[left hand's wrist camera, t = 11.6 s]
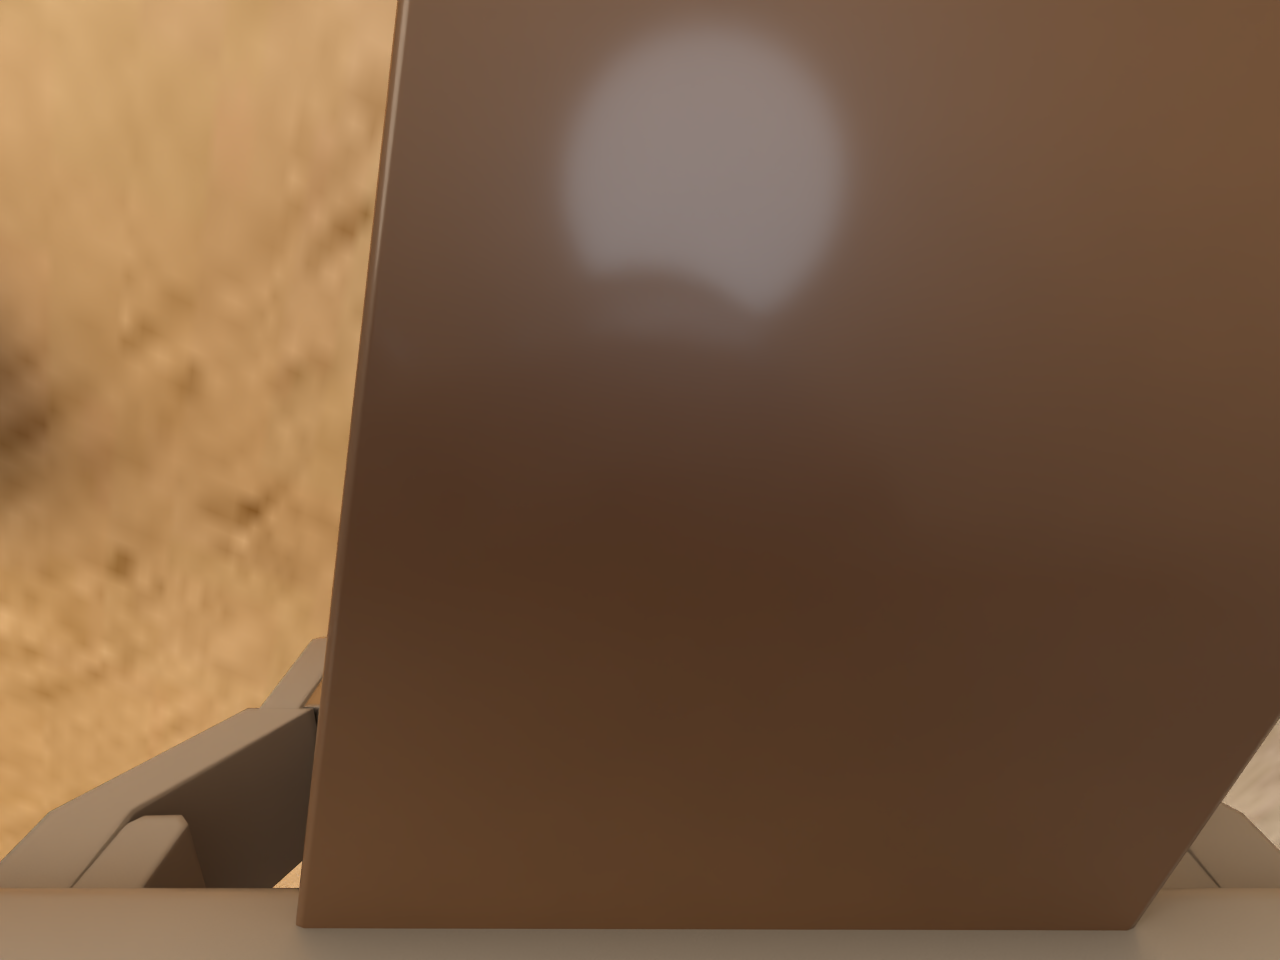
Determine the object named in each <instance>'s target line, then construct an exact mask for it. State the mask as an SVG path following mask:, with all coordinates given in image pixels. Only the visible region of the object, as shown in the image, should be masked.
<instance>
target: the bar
mask: <svg viewBox="0 0 1280 960" xmlns="http://www.w3.org/2000/svg"><path fill="white" fill-rule="evenodd" d="M1279 718H1280V0H397V9H396V18H395V27H394V36H393V45H392V54H391V63H390V72H389V82H388V91H387V100H386V109H385V118H384V127H383V136H382V145H381V154H380V163H379V172H378V181H377V190H376V199H375V208H374V217H373V226H372V235H371V244H370V254H369V263H368V272H367V281H366V290H365V299H364V308H363V317H362V326H361V335H360V344H359V353H358V362H357V371H356V380H355V389H354V398H353V407H352V417H351V426H350V435H349V444H348V453H347V462H346V471H345V480H344V489H343V498H342V507H341V516H340V525H339V534H338V543H337V552H336V561H335V570H334V579H333V588H332V598H331V607H330V616H329V625H328V634H327V643H326V652H325V661H324V670H323V679H322V688H321V697H320V706H319V715H318V724H317V733H316V742H315V751H314V761H313V770H312V779H311V788H310V797H309V806H308V815H307V824H306V833H305V842H304V851H303V860H302V869H301V878H300V887H299V896H298V905H297V914H296V925H297V926H299V927H302V928H383V929H749V930H1115V931H1127V930H1130V929H1132V928H1134V927H1135V925H1136V924H1137V923H1138V921H1139V920H1140V918H1141V917H1142V915H1143V914H1144V912H1145V911H1146V910H1147V908H1148V907H1149V905H1150V904H1151V902H1152V901H1153V900H1154V898H1155V897H1156V895H1157V894H1158V892H1159V891H1160V889H1161V888H1162V887H1163V885H1164V884H1165V882H1166V881H1167V879H1168V878H1169V877H1170V875H1171V874H1172V872H1173V871H1174V869H1175V868H1176V866H1177V865H1178V864H1179V862H1180V861H1181V859H1182V858H1183V856H1184V855H1185V853H1186V852H1187V851H1188V849H1189V848H1190V846H1191V845H1192V843H1193V842H1194V841H1195V839H1196V838H1197V836H1198V835H1199V833H1200V832H1201V830H1202V829H1203V828H1204V826H1205V825H1206V823H1207V822H1208V820H1209V819H1210V818H1211V816H1212V815H1213V813H1214V812H1215V810H1216V809H1217V807H1218V806H1219V805H1220V803H1221V802H1222V800H1223V799H1224V797H1225V796H1226V795H1227V793H1228V792H1229V790H1230V789H1231V787H1232V786H1233V784H1234V783H1235V782H1236V780H1237V779H1238V777H1239V776H1240V774H1241V773H1242V772H1243V770H1244V769H1245V767H1246V766H1247V764H1248V763H1249V761H1250V760H1251V759H1252V757H1253V756H1254V754H1255V753H1256V751H1257V750H1258V748H1259V747H1260V746H1261V744H1262V743H1263V741H1264V740H1265V738H1266V737H1267V736H1268V734H1269V733H1270V731H1271V730H1272V728H1273V727H1274V725H1275V724H1276V723H1277V721H1278V720H1279Z"/></svg>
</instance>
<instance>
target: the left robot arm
mask: <svg viewBox="0 0 1280 960" xmlns="http://www.w3.org/2000/svg"><path fill="white" fill-rule="evenodd" d="M326 643H327V637H319V638H316V639H312V640H311V642H310V643H309V644H308V645H307V647H306V648H305V649H304V651H303V652H302V653H301V654H300V656H299V657H298V658H297V660H296V661H295V662H294V664H293V665H292V666H291V668H290V669H289V670H288V671H287V673H286V674H285V675H284V677H283V678H282V679H281V681H280V682H279V683H278V685H277V686H276V687H275V688H274V690H273V691H272V692H271V694H270V695H269V696H268V698H267V699H266V700H265V702H264V703H263V704H262V705H261V707H260V708H247V709H246V710H244V711H242V712H240V713H238V714H236V715H234V716H232V717H230V718H228V719H226V720H224V721H223V722H221V723H219V724H217V725H215V726H213V727H211V728H209V729H207V730H205V731H203V732H201V733H200V734H198V735H196V736H194V737H192V738H190V739H188V740H186V741H184V742H182V743H180V744H178V745H177V746H175V747H173V748H171V749H169V750H167V751H165V752H163V753H161V754H159V755H157V756H155V757H154V758H152V759H150V760H148V761H146V762H144V763H142V764H140V765H138V766H136V767H134V768H132V769H131V770H129V771H127V772H125V773H123V774H121V775H119V776H117V777H115V778H113V779H111V780H109V781H108V782H106V783H104V784H102V785H100V786H98V787H96V788H94V789H92V790H90V791H88V792H87V793H85V794H83V795H81V796H79V797H77V798H75V799H73V800H71V801H69V802H67V803H65V804H64V805H62V806H60V807H58V808H56V809H54V810H52V811H50V812H49V813H48V814H47V815H46V816H45V817H44V818H43V819H42V820H41V821H40V822H39V823H38V824H37V825H36V826H35V827H34V828H33V829H32V830H31V831H30V832H29V833H28V834H27V835H26V836H25V837H24V838H23V839H22V840H21V841H20V842H19V843H18V844H17V845H16V846H15V847H14V848H13V849H12V850H11V851H10V852H9V853H8V854H7V855H6V857H5V858H4V859H3V860H2V861H1V862H0V960H1280V851H1279V850H1278V849H1277V848H1276V847H1275V846H1274V845H1273V844H1272V842H1271V841H1270V840H1269V839H1268V838H1267V837H1266V836H1265V835H1264V834H1263V833H1262V832H1261V831H1260V830H1259V829H1258V828H1257V827H1256V826H1255V825H1254V824H1253V823H1252V822H1251V821H1250V820H1249V819H1248V818H1247V817H1246V816H1245V815H1244V814H1243V813H1241V812H1239V811H1237V810H1235V809H1233V808H1231V807H1230V806H1228V805H1226V804H1224V803H1222V802H1221V803H1220V805H1219V806H1218V807H1217V809H1216V810H1215V812H1214V813H1213V815H1212V816H1211V818H1210V819H1209V820H1208V822H1207V823H1206V825H1205V826H1204V828H1203V829H1202V830H1201V832H1200V833H1199V835H1198V836H1197V838H1196V839H1195V841H1194V842H1193V843H1192V845H1191V846H1190V848H1189V849H1188V851H1187V852H1186V853H1185V855H1184V856H1183V858H1182V859H1181V861H1180V862H1179V864H1178V865H1177V866H1176V868H1175V869H1174V871H1173V872H1172V874H1171V875H1170V877H1169V878H1168V879H1167V881H1166V882H1165V884H1164V885H1163V887H1162V888H1161V889H1160V891H1159V892H1158V894H1157V895H1156V897H1155V898H1154V900H1153V901H1152V902H1151V904H1150V905H1149V907H1148V908H1147V910H1146V911H1145V912H1144V914H1143V915H1142V917H1141V918H1140V920H1139V921H1138V923H1137V924H1136V925H1135V927H1134V928H1132V929H1130V930H1127V931H1115V930H749V929H383V928H302V927H299V926H297V925H296V914H297V905H298V896H299V888H273V887H274V886H275V885H276V884H277V883H278V882H279V881H280V880H281V879H283V878H284V877H285V876H286V875H287V874H288V873H289V872H290V871H291V870H293V869H294V868H295V867H296V866H297V865H298V864H299V863H300V862H301V861H302V860H303V851H304V842H305V833H306V824H307V815H308V806H309V797H310V788H311V779H312V770H313V761H314V751H315V742H316V733H317V724H318V715H319V706H320V697H321V688H322V679H323V670H324V661H325V652H326Z"/></svg>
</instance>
